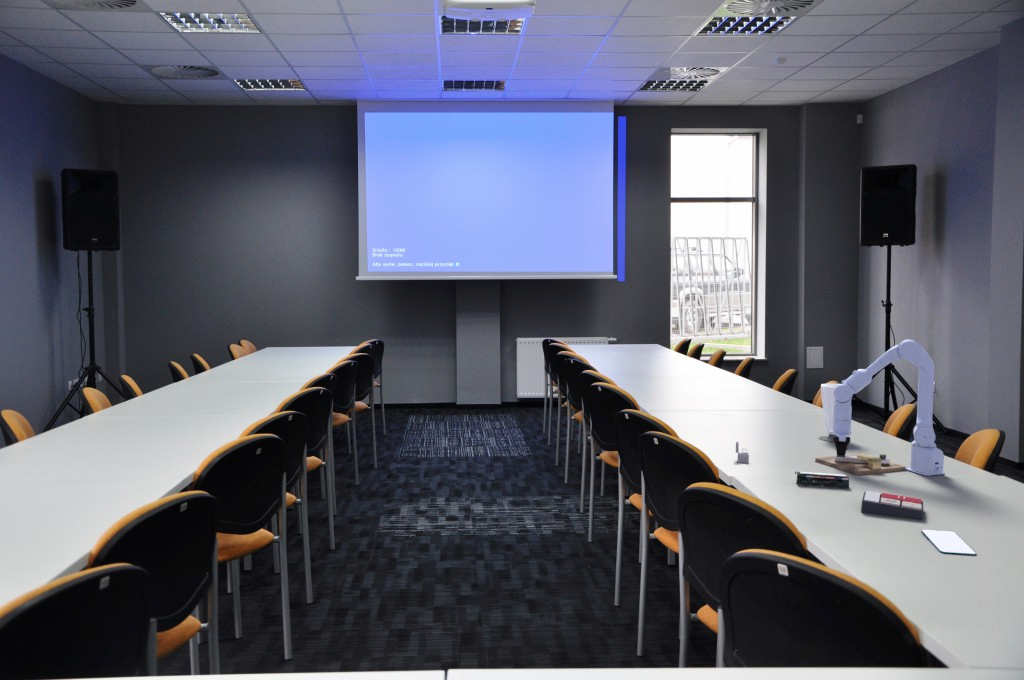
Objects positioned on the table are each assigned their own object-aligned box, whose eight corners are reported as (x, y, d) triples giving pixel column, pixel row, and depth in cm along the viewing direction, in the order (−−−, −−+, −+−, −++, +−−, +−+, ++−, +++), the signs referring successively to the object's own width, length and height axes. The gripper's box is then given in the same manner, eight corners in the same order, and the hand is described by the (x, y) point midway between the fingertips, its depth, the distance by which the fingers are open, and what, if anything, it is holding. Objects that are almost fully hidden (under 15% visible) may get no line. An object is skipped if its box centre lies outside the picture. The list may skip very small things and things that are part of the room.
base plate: (905, 470, 262) (906, 457, 261) (857, 475, 255) (858, 461, 255) (860, 457, 280) (861, 444, 280) (815, 461, 274) (815, 448, 274)
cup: (820, 441, 307) (822, 386, 305) (816, 435, 318) (818, 382, 316) (852, 443, 304) (854, 387, 302) (846, 437, 315) (849, 384, 314)
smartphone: (977, 558, 182) (953, 534, 197) (977, 554, 182) (954, 531, 197) (940, 555, 183) (919, 532, 199) (940, 551, 183) (919, 529, 199)
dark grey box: (923, 508, 207) (862, 498, 214) (922, 524, 208) (860, 513, 215) (923, 498, 217) (864, 488, 224) (921, 513, 218) (863, 503, 224)
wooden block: (881, 468, 259) (881, 458, 258) (872, 469, 258) (873, 459, 257) (865, 463, 265) (865, 454, 265) (856, 464, 264) (857, 454, 264)
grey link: (888, 462, 266) (888, 458, 266) (890, 465, 262) (890, 461, 262) (834, 458, 271) (834, 454, 271) (835, 461, 267) (835, 457, 267)
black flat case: (785, 479, 251) (785, 466, 251) (869, 485, 245) (870, 472, 244) (788, 491, 237) (789, 478, 237) (878, 498, 231) (879, 484, 230)
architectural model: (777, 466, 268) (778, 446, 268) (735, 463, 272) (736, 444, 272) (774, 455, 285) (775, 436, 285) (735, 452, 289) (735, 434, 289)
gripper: (829, 414, 278) (827, 452, 279) (830, 422, 264) (828, 461, 265) (850, 416, 275) (849, 454, 277) (853, 423, 262) (851, 463, 263)
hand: (840, 458), depth 271 cm, fingers closed
